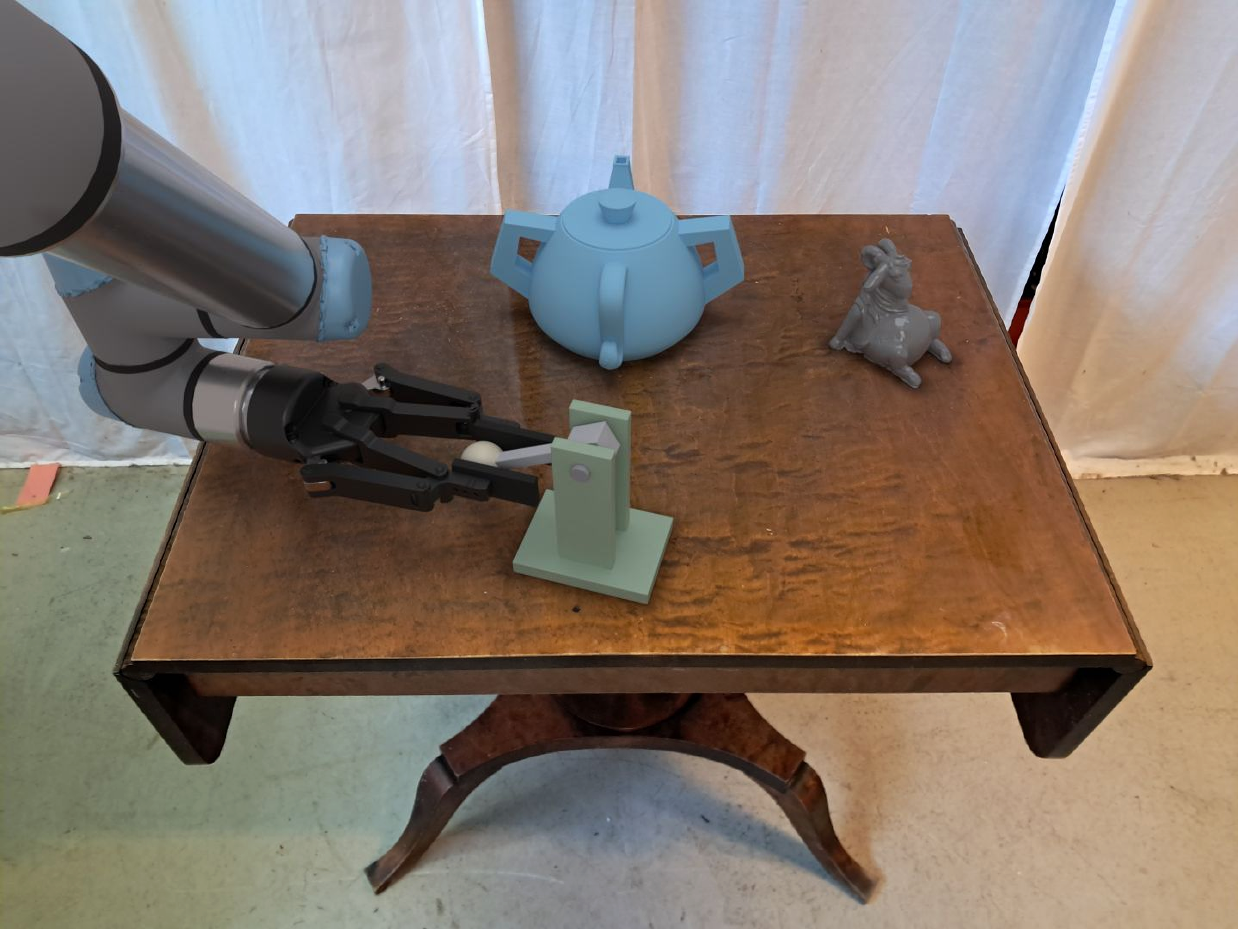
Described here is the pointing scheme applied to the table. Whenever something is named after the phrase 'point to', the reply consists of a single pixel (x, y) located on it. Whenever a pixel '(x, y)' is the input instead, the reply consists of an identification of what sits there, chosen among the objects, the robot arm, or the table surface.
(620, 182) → the teapot
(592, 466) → the green lever stand
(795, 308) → the table surface
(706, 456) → the table surface
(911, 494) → the table surface
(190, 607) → the table surface
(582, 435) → the knob lever
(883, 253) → the figurine
